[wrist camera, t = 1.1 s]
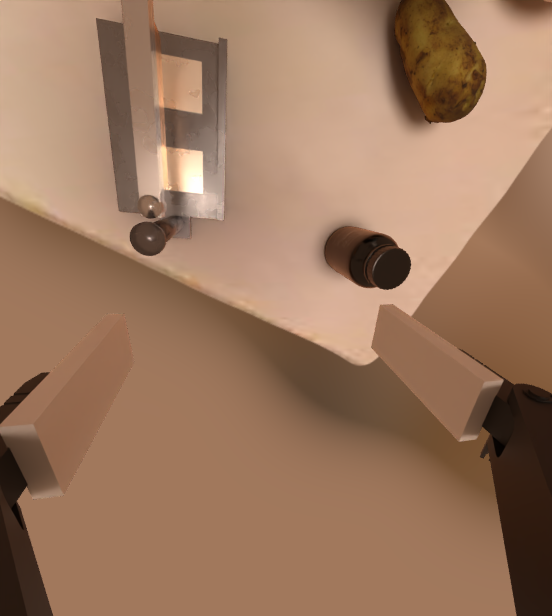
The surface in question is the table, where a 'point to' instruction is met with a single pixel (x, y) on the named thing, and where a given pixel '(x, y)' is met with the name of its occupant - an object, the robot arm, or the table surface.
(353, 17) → the table surface
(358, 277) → the supplement bottle
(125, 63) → the metal plate with cutouts
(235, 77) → the table surface
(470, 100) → the potato
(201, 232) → the table surface
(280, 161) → the table surface
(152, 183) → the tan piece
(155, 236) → the post
